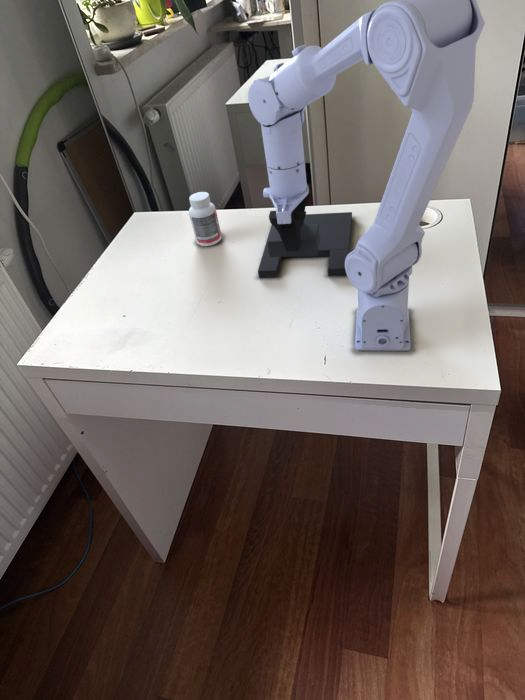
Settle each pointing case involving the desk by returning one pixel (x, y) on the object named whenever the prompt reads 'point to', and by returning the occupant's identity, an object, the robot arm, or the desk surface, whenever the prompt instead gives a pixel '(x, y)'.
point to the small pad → (307, 242)
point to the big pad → (331, 244)
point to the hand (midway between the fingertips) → (294, 240)
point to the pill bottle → (204, 219)
